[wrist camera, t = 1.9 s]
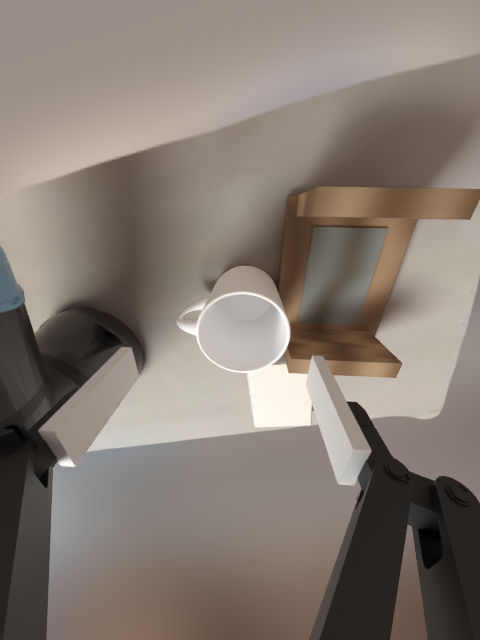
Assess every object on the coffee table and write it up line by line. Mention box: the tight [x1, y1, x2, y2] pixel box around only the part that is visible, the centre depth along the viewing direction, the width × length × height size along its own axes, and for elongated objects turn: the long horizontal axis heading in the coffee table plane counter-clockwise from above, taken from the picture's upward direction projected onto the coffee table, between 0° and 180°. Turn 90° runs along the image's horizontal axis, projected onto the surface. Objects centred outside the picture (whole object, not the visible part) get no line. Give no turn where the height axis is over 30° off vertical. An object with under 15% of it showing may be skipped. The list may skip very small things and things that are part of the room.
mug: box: [177, 266, 291, 373], centre depth 24 cm, size 9×12×11 cm
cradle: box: [277, 186, 480, 378], centre depth 23 cm, size 14×18×8 cm
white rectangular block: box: [247, 354, 312, 427], centre depth 34 cm, size 10×14×3 cm
